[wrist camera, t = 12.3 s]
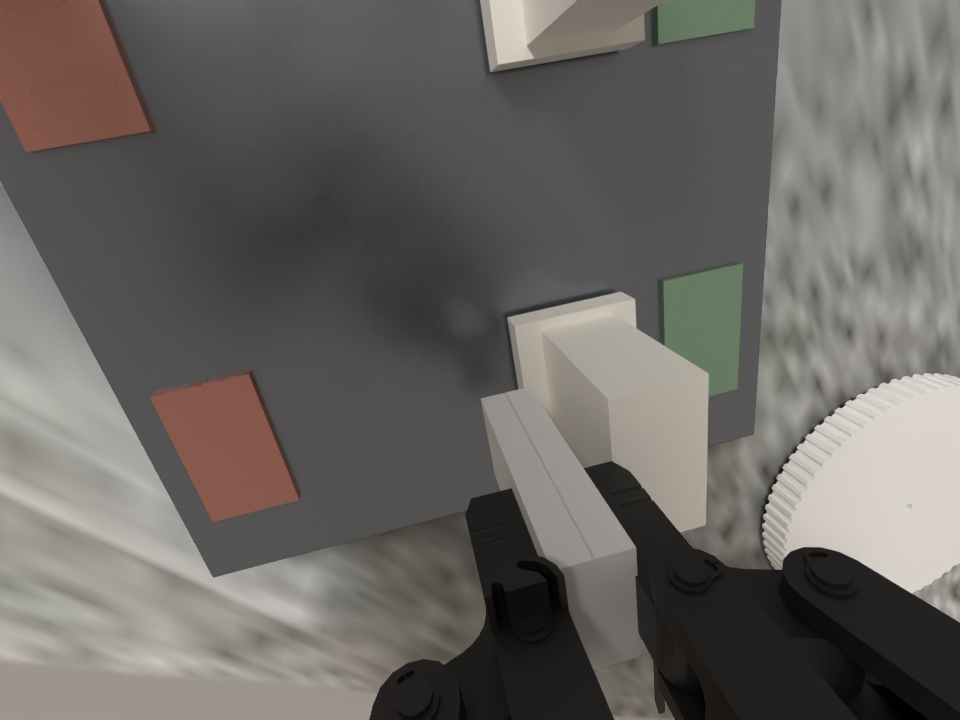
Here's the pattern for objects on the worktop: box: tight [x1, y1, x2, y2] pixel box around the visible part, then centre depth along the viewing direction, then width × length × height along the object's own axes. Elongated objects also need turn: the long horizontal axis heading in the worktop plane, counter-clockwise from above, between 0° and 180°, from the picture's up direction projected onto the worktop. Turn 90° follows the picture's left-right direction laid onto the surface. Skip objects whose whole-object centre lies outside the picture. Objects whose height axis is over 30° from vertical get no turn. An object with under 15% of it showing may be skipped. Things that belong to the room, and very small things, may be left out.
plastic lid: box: [762, 373, 960, 594], centre depth 26 cm, size 14×14×2 cm
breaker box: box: [0, 0, 781, 577], centre depth 16 cm, size 22×22×3 cm
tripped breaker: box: [507, 292, 709, 532], centre depth 14 cm, size 4×5×6 cm
